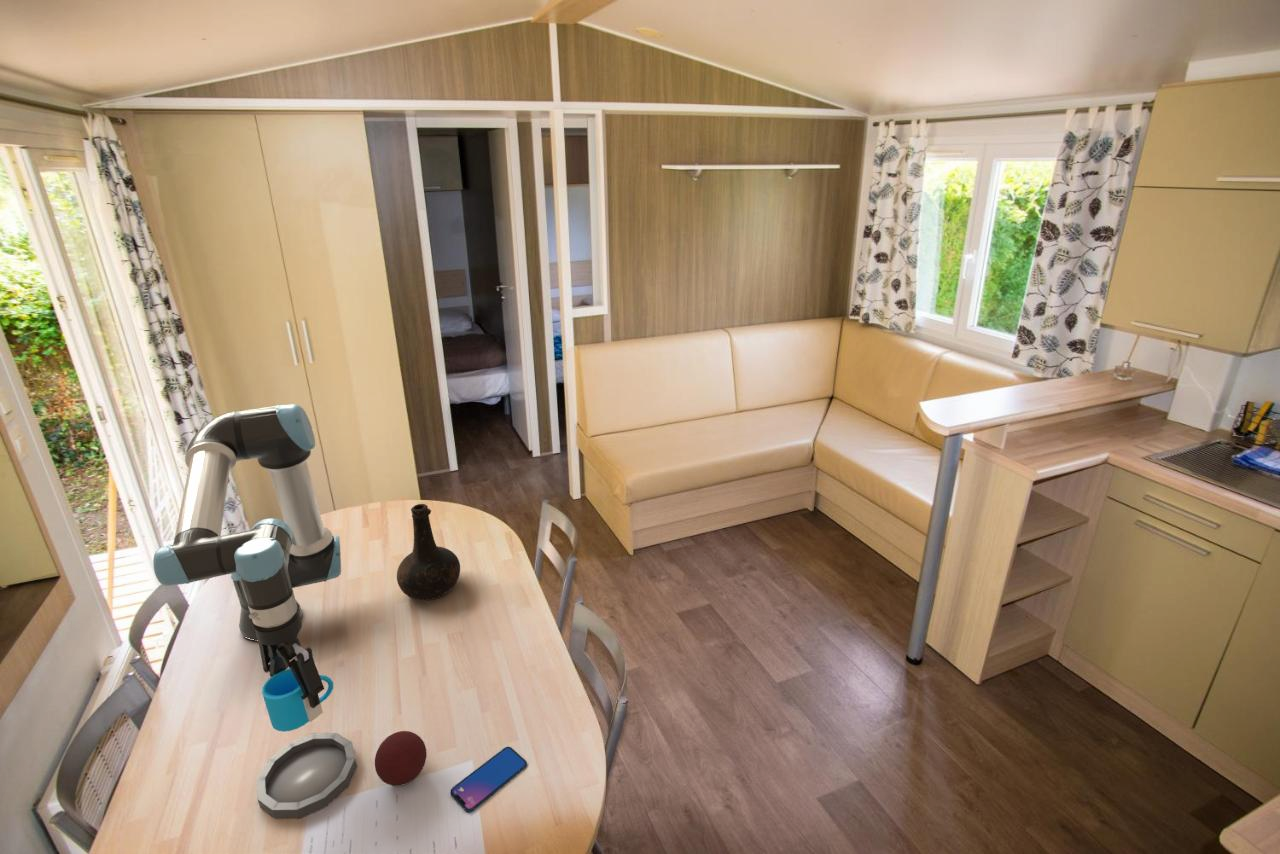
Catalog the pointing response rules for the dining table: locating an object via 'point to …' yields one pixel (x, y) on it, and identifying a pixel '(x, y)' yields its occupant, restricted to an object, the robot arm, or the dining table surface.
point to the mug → (288, 700)
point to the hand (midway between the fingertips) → (301, 708)
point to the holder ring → (306, 775)
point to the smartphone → (488, 779)
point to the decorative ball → (400, 758)
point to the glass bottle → (427, 562)
